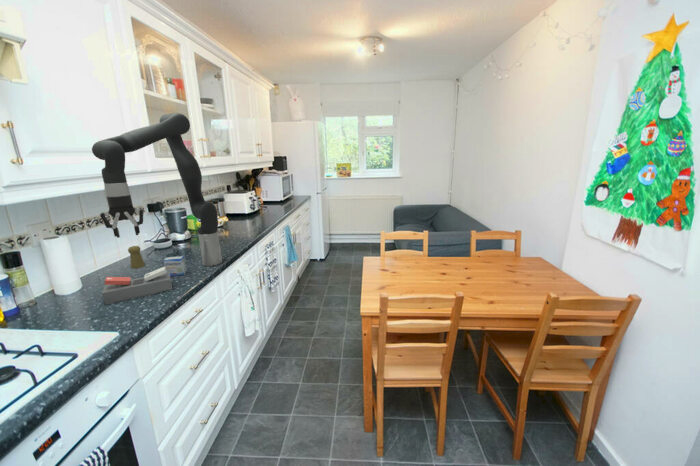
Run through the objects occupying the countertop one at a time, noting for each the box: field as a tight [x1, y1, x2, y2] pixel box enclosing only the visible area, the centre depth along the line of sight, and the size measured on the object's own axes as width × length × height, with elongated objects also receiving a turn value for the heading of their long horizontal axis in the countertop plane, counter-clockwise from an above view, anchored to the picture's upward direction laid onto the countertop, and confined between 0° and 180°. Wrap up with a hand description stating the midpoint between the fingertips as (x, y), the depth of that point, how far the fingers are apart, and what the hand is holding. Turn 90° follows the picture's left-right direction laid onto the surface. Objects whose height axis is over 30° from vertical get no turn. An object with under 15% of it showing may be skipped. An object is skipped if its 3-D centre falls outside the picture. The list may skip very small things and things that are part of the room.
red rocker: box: [104, 276, 132, 286], centre depth 120 cm, size 8×4×2 cm, turn 123°
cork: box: [127, 245, 145, 269], centre depth 152 cm, size 6×6×11 cm
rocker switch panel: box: [101, 272, 173, 305], centre depth 124 cm, size 23×9×6 cm, turn 122°
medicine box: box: [163, 255, 187, 277], centre depth 142 cm, size 8×4×9 cm, turn 105°
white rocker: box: [143, 266, 166, 281], centre depth 126 cm, size 8×4×2 cm, turn 121°
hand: (127, 235), depth 118 cm, fingers open, 5 cm apart
